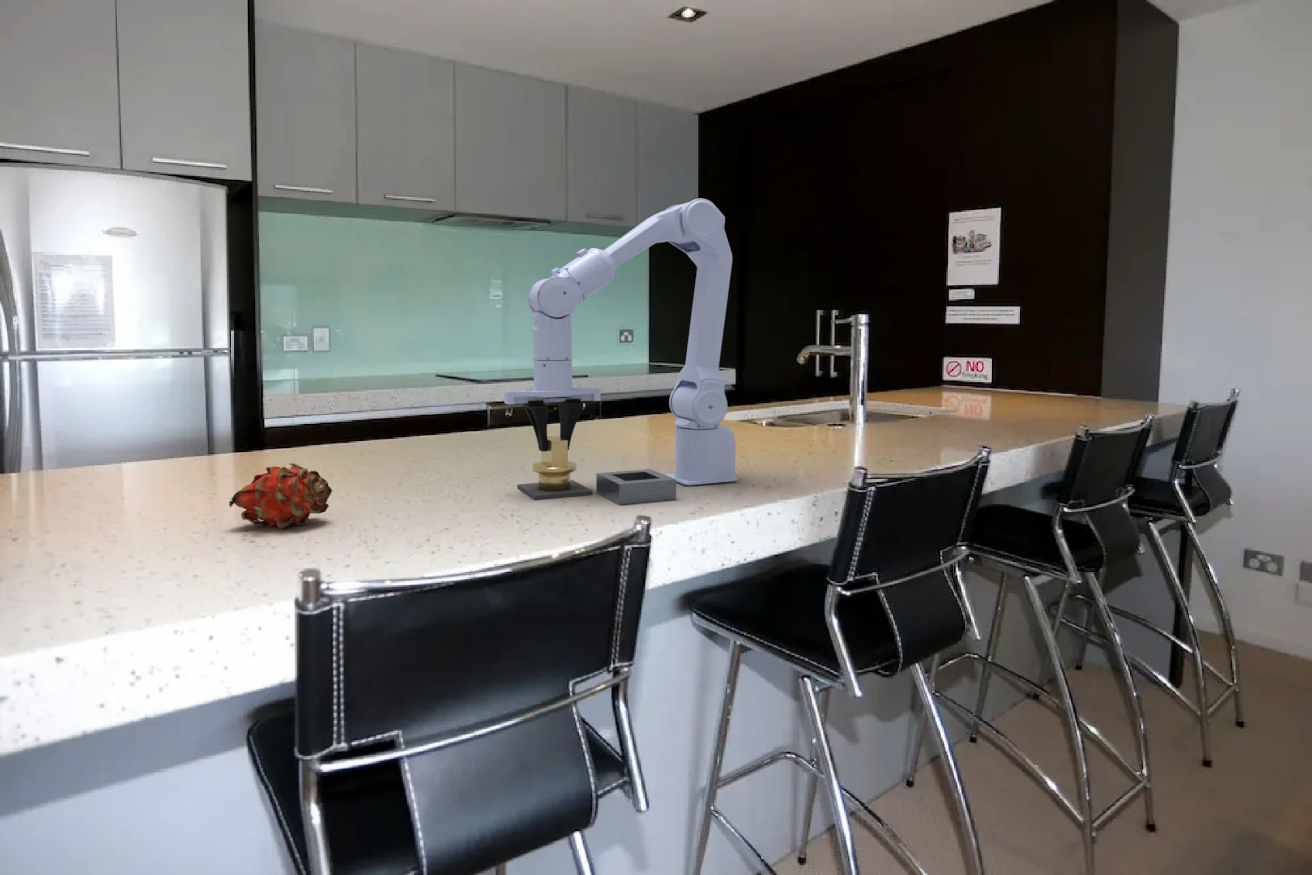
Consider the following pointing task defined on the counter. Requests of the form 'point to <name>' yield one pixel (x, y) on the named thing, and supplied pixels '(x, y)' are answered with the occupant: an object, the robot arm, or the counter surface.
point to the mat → (537, 494)
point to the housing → (635, 486)
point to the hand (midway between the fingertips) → (553, 449)
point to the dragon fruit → (283, 496)
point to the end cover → (555, 466)
